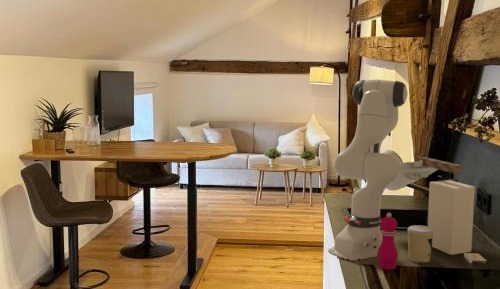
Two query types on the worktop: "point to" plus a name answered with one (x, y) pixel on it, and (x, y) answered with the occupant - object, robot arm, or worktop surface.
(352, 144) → the robot arm
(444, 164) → the walnut bar
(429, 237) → the coffee cup
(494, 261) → the worktop surface
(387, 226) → the pepper mill
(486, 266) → the worktop surface
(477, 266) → the worktop surface
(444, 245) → the cream stand
